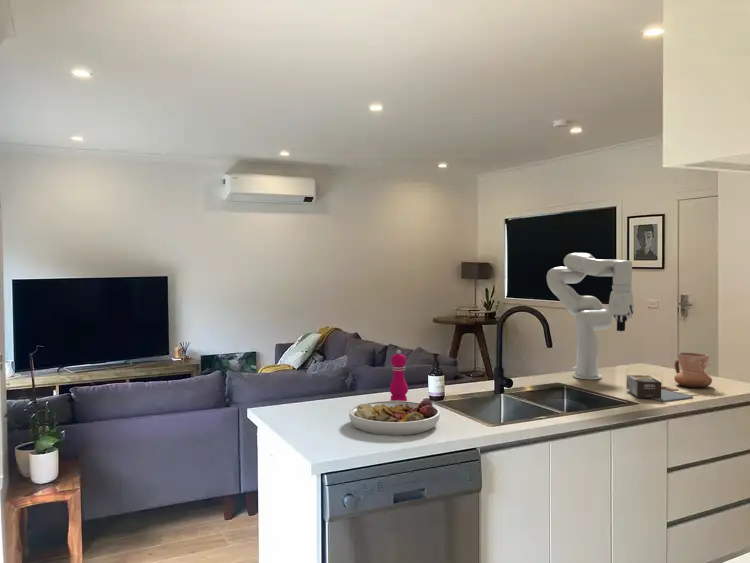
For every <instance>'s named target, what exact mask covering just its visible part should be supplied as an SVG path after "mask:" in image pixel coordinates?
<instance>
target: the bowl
mask: <svg viewBox="0 0 750 563" xmlns="http://www.w3.org/2000/svg"><path fill="white" fill-rule="evenodd" d="M348 413H349V414H348V416H349V419H350V422H351V423H352V425H353V426H355V427H356V428H357V429H358V430H361V431H363V432H365V433H369V434H372V435H373V434H374V435H380V436H409V435H416V434H417V435H418V434H421V433H425V432H427V431H429V430H431V429H433V428H434V427H435V426H436V425H437V424H438V423H439V421H440V416H441V413H440V410H439V409H438V408H437V407H435V406H433V402H432V401H431V400H430V399H428V398H425V399H423V400H422V401H420V402H417V401H408V400H407V401H391V400H382V401H381V400H379V401H369V402H364V403H361V404H357V405H355V406H353V407H351V408H350V409H349V412H348Z"/></svg>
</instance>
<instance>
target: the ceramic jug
mask: <svg viewBox="0 0 750 563" xmlns="http://www.w3.org/2000/svg"><path fill="white" fill-rule="evenodd" d="M709 359H710V354H707V353H696V352H695V353H694V352H689V351H688V352H683V351H680V352H678V353H677V358H676V359H675V361H674V369H675V373H676V374H675V375H674V381H675V383H677V384H679V385H680V386H682V387H685V388H686V387H687V388H692V389H699V388H707V387H709V386H710V385H711V384H712V382H713V379H712V377H711V376H710V375H709V374H707V373H706V372H705V369H706V367H708V368H709V367H710V366H711V364H710V363H709ZM679 365H680V366H679ZM680 367H681V369H682V370H680Z"/></svg>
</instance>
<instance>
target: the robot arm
mask: <svg viewBox="0 0 750 563" xmlns="http://www.w3.org/2000/svg"><path fill="white" fill-rule="evenodd" d="M563 264H564V266H556V267H553V268H551V269H549V270H548V271H547V274H546V283H547V287H548V288H549V290H550V291H551V292H552V294H553V295H554V296H555V297H557V299H558V300H559V301H560V302H561V304H562V305H563V307H564V308H566V310H567V311H568V313H570V314H571V316H572V315H573V316H574V325H575V330H576V365H575V366H574V367H572V368H571V370H572V371H573V372H574V371H575V373H572V375H573V377H574V378H576V379H581V380H589V381H590V380H591V381H592V380H594V381H595V380H601V379H602V377H603V376H602V375H601V374H599V338H598V335H597V334H596V331H604V330H608V329H610V328H611V327H612V325H613V318H614V319H615V322H616V331H617V332H625V331H626V322H627V321H628V319H632V318H633V314H634V295H633V292H632V280H633V279H632V275H633V274H632V273H633V263H632V261H631V260H627V259H626V260H624V259H611V258H610V259H603V258H602V259H598V258H597V259H596V258H595V257H594V256H593V255H592V254H591V253H588V252H573V253H572V252H571V253H568V254H567V255H565V257H564V258H563ZM587 275H588V276H593V277H612V285H611V289H612V291H611V292H610V295H609V300H608V309H607V308H606V306H605V305H604V304H603V303H602V301H600V299H598V298H597V297H596V296H593V295H580V294H579V293H578V292H576V290H575V289H574V288H573V287H572V286H570V285H569V284H574V285H575V284H578V283H580V282H582V281H583V280H584V278H585V277H586V276H587Z"/></svg>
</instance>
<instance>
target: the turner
mask: <svg viewBox="0 0 750 563" xmlns="http://www.w3.org/2000/svg"><path fill="white" fill-rule="evenodd" d="M664 389H665V391H668V390H670V392H674V393H679V394H683V395H688V396H692V397H695V396H694V395H696V396H699V393H696V392H692V391H687V390H682V389H679V388H675V387H672V386H666V385H662V384H661V390H664Z"/></svg>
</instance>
